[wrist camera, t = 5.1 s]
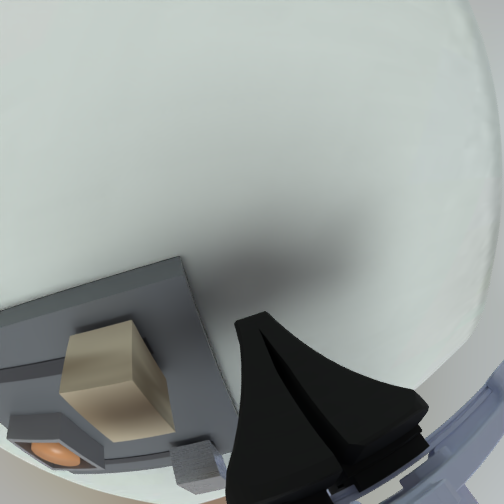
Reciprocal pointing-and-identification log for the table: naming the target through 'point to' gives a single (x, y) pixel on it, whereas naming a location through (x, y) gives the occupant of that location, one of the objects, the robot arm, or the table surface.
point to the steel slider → (198, 467)
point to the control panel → (158, 343)
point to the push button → (55, 454)
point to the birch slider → (116, 383)
